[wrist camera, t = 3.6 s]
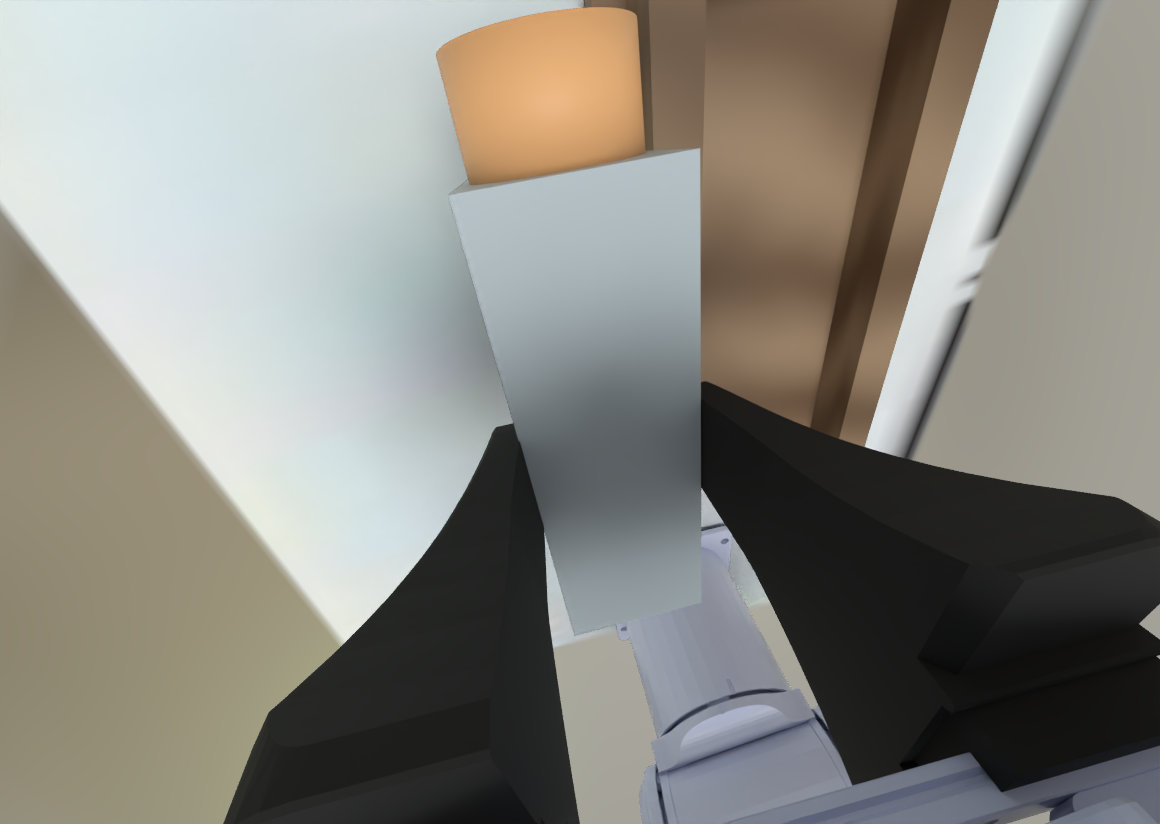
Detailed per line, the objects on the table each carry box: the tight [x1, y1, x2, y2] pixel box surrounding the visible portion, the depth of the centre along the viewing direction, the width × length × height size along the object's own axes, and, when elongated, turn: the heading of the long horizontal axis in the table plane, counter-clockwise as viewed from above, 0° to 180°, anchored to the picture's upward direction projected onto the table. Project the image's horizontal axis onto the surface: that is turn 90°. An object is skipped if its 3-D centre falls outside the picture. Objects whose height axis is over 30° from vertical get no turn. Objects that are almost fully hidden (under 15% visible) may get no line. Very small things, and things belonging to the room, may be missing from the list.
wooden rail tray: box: [584, 0, 999, 488], centre depth 17 cm, size 21×12×3 cm, turn 8°
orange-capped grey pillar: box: [436, 7, 701, 636], centre depth 11 cm, size 14×4×5 cm, turn 9°
